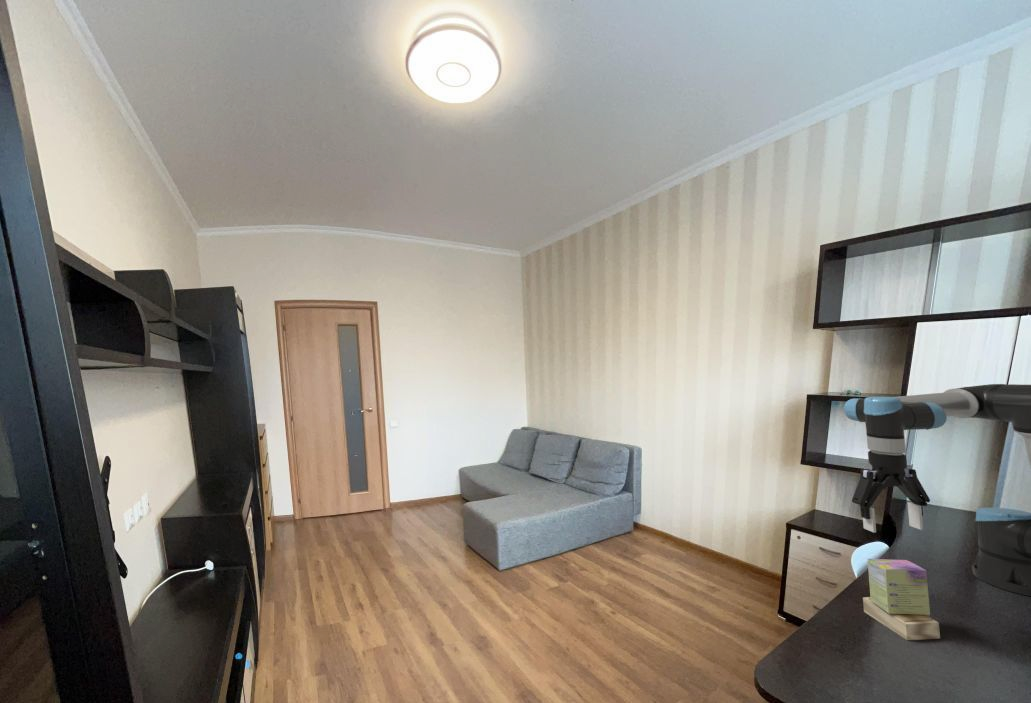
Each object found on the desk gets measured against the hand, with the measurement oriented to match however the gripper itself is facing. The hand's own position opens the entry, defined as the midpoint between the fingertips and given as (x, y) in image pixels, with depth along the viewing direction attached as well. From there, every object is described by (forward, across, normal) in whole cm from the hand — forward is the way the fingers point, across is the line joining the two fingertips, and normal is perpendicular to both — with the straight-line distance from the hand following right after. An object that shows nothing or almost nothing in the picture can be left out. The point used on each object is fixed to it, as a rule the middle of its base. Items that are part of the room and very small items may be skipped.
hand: (893, 529), depth 99 cm
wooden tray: (+26, 0, 0) cm, 26 cm away
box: (+21, 0, 0) cm, 21 cm away
